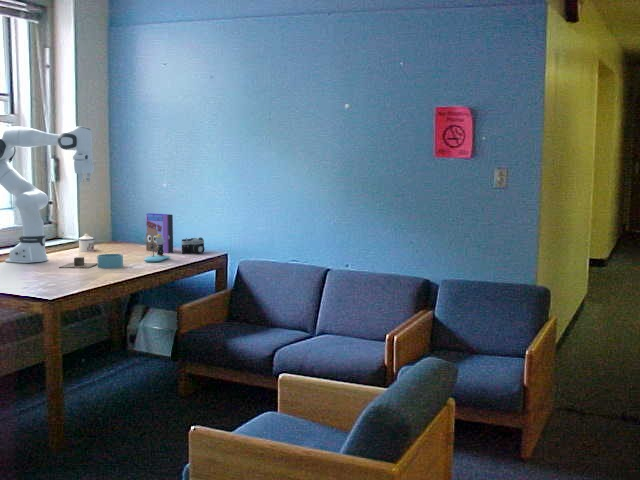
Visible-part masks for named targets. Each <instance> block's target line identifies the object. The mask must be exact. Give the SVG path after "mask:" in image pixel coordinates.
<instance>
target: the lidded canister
mask: <svg viewBox="0 0 640 480" xmlns="http://www.w3.org/2000/svg"><path fill="white" fill-rule="evenodd" d="M78 246H79V247H78V251H79V252H80V253H91V252H95V238H94V237H93V236H90V235H89V234H88V233H84V235H83V236H81V237H79V238H78Z"/></svg>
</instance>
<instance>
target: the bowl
mask: <svg viewBox="0 0 640 480" xmlns="http://www.w3.org/2000/svg"><path fill="white" fill-rule="evenodd" d="M123 256H124V255H123V254H121V253H103V254H98V255H97V256H96V263H97V265H96V266H97V268H99V269H118V268H122V267H124V259H123V258H124V257H123Z"/></svg>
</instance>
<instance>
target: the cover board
mask: <svg viewBox="0 0 640 480" xmlns="http://www.w3.org/2000/svg"><path fill="white" fill-rule="evenodd" d="M95 266H97V262H85V257H84V256H81V257H80V256H77V257H74V258H73V262H68V263H66V264H64V265H60V266H58V269H90V268H93V267H95Z"/></svg>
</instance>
